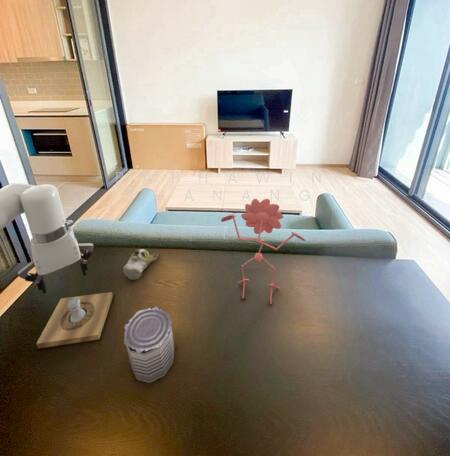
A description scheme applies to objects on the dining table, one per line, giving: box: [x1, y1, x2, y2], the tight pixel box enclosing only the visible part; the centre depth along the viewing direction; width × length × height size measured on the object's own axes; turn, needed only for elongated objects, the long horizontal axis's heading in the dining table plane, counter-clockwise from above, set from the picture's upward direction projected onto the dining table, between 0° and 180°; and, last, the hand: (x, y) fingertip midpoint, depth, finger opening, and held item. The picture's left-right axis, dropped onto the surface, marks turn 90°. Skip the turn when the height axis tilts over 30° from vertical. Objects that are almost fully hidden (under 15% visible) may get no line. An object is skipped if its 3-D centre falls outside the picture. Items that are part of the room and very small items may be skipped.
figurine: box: [220, 198, 306, 305], centre depth 80 cm, size 15×26×35 cm, turn 77°
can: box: [123, 306, 175, 384], centre depth 63 cm, size 11×11×12 cm
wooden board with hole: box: [35, 291, 114, 350], centre depth 75 cm, size 16×14×2 cm
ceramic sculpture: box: [122, 248, 161, 281], centre depth 92 cm, size 11×9×15 cm
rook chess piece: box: [67, 296, 87, 324], centre depth 73 cm, size 4×4×8 cm
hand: (65, 280), depth 69 cm, fingers open, 9 cm apart
